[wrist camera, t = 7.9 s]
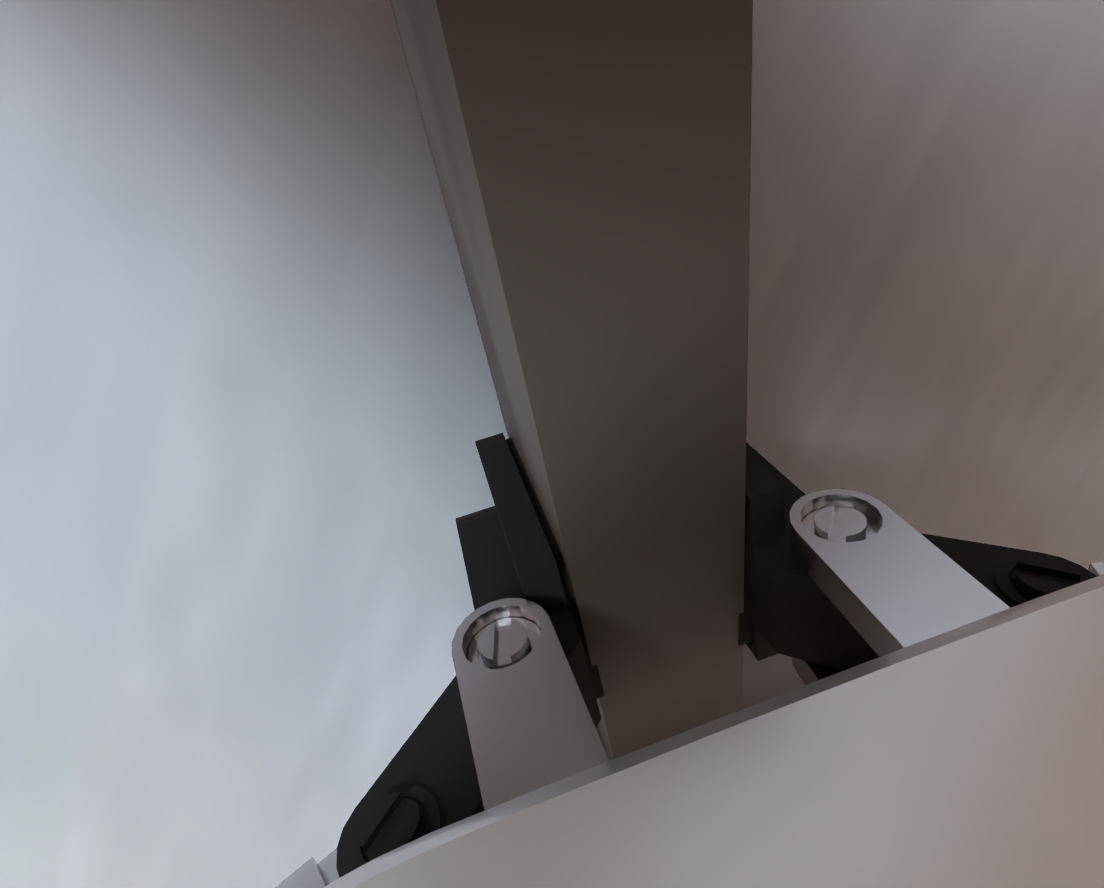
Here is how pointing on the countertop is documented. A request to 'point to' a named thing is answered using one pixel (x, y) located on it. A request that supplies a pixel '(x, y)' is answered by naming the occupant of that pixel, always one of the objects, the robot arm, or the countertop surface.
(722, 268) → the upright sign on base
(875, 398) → the countertop surface
